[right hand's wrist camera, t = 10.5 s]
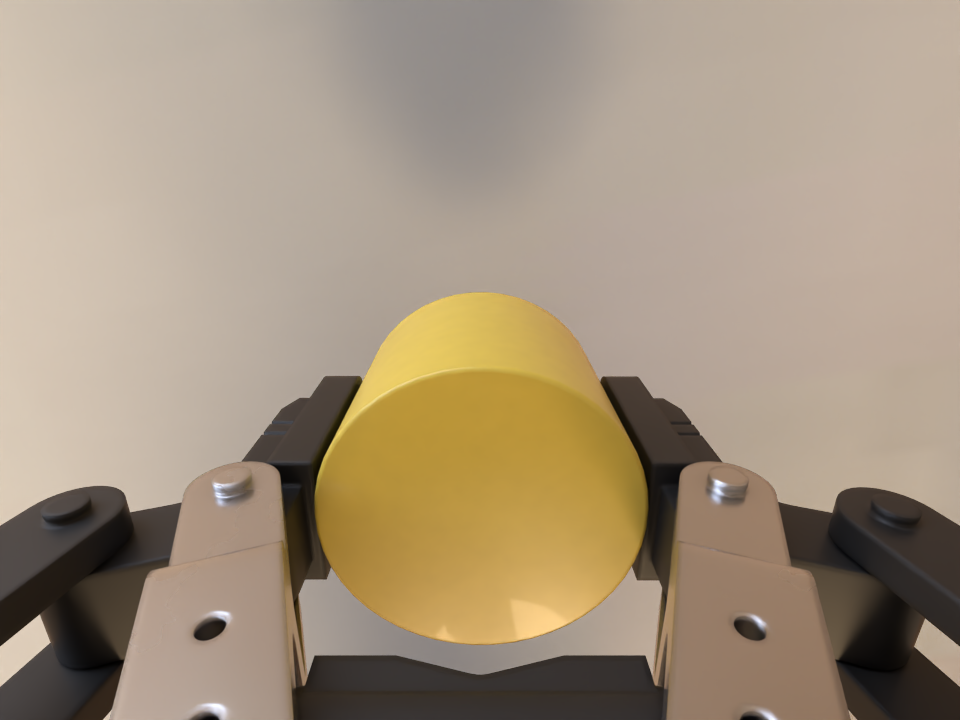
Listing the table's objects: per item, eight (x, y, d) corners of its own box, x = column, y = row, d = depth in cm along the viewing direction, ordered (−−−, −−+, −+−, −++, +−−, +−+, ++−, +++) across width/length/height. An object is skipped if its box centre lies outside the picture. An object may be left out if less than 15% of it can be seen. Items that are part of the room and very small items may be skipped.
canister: (621, 314, 12) (696, 399, 8) (564, 511, 13) (601, 664, 9) (381, 272, 11) (325, 338, 7) (357, 479, 13) (302, 625, 9)
